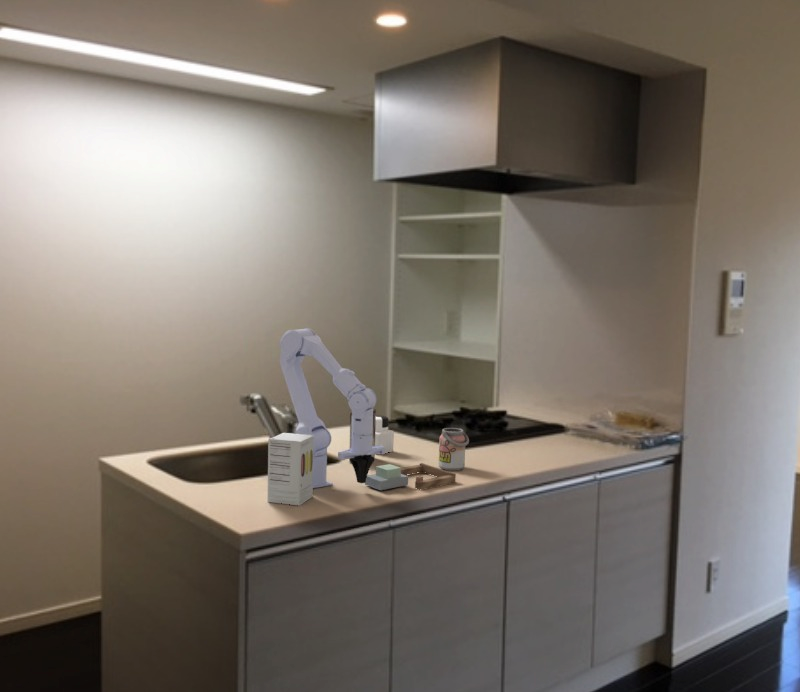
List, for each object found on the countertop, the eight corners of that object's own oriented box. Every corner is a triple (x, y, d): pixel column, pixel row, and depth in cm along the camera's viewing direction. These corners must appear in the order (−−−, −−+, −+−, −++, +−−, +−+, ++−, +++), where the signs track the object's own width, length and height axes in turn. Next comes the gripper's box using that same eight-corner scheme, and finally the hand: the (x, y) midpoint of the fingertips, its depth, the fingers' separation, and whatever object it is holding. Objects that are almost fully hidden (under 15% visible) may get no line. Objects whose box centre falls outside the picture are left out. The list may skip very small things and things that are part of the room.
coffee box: (356, 456, 260) (357, 407, 258) (375, 458, 259) (376, 409, 257) (348, 463, 251) (349, 412, 249) (368, 464, 250) (369, 414, 248)
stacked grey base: (380, 492, 220) (380, 472, 219) (364, 486, 225) (365, 467, 225) (408, 486, 226) (408, 467, 225) (392, 481, 231) (393, 462, 231)
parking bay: (419, 490, 223) (420, 477, 222) (384, 477, 235) (384, 465, 235) (456, 482, 232) (456, 470, 231) (420, 470, 244) (421, 459, 244)
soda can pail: (472, 469, 248) (474, 431, 246) (453, 473, 242) (455, 434, 241) (451, 463, 254) (453, 426, 253) (432, 467, 249) (433, 429, 248)
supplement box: (299, 506, 205) (300, 441, 203) (266, 502, 207) (267, 438, 205) (313, 496, 214) (314, 434, 212) (281, 492, 216) (282, 431, 215)
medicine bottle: (377, 448, 273) (378, 413, 271) (393, 451, 268) (394, 416, 267) (363, 451, 267) (364, 416, 266) (379, 455, 263) (380, 419, 262)
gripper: (348, 439, 211) (348, 489, 212) (392, 433, 220) (391, 481, 221) (333, 434, 216) (333, 483, 217) (376, 428, 225) (375, 476, 227)
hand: (361, 482), depth 220 cm, fingers closed
